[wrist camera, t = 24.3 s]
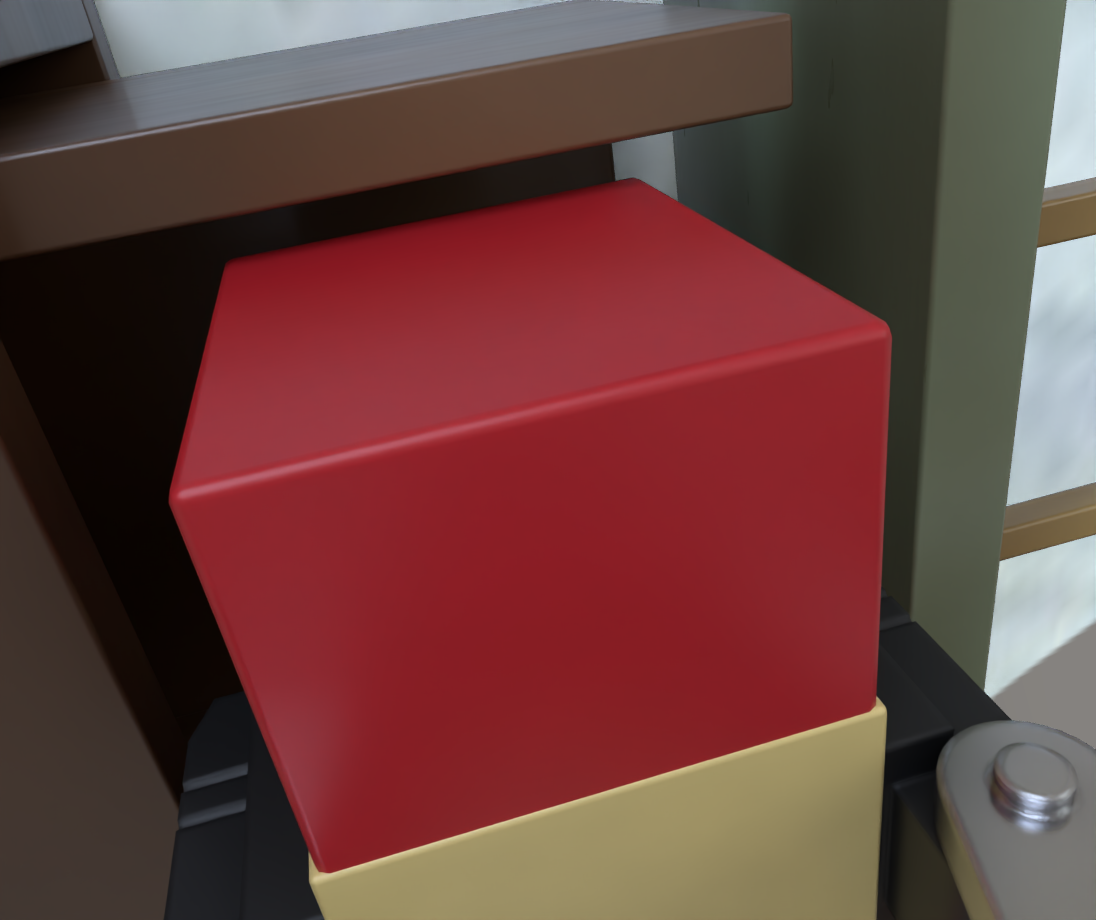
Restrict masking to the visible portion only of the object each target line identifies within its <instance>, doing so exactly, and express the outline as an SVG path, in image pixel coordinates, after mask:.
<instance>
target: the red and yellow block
mask: <svg viewBox="0 0 1096 920" xmlns="http://www.w3.org/2000/svg"><path fill="white" fill-rule="evenodd" d="M891 350H892V335H891V332H890V329H889V326H888V325H887V323H886V322H885V321H883V320H882V319H880V318H878V317H877V316H875V315H873V314H871V313H870V312H868V311H866V310H864V309H863V308H861V307H859V306H858V305H856V304H854V303H852V302H851V301H849V300H847V299H845V298H844V297H842V296H840V295H839V294H837V293H835V292H833V291H832V290H830V289H828V288H826V287H825V286H823V285H821V284H820V283H818V282H816V281H814V280H813V279H811V278H809V277H807V276H806V275H804V274H802V273H801V272H799V271H797V270H795V269H794V268H792V267H790V266H788V265H787V264H785V263H783V262H782V261H780V260H778V259H776V258H775V257H773V256H771V255H769V254H768V253H766V252H764V251H763V250H761V249H759V248H757V247H756V246H754V245H752V244H750V243H749V242H747V241H745V240H743V239H742V238H740V237H738V236H737V235H735V234H733V233H731V232H730V231H728V230H726V229H724V228H723V227H721V226H719V225H718V224H716V223H714V222H712V221H711V220H709V219H707V218H705V217H704V216H702V215H700V214H699V213H697V212H695V211H693V210H692V209H690V208H688V207H686V206H685V205H683V204H681V203H680V202H678V201H676V200H674V199H673V198H671V197H669V196H667V195H666V194H664V193H662V192H661V191H659V190H657V189H655V188H654V187H652V186H650V185H648V184H647V183H645V182H643V181H642V180H640V179H636V178H629V179H624V180H619V181H614V182H609V183H604V184H599V185H594V186H589V187H584V188H579V189H574V190H569V191H565V192H560V193H555V194H550V195H545V196H540V197H535V198H530V199H525V200H520V201H515V202H510V203H505V204H500V205H495V206H490V207H485V208H481V209H476V210H471V211H466V212H461V213H456V214H451V215H446V216H441V217H436V218H431V219H426V220H421V221H416V222H411V223H406V224H402V225H397V226H392V227H387V228H382V229H377V230H372V231H367V232H362V233H357V234H352V235H347V236H342V237H337V238H332V239H327V240H322V241H318V242H313V243H308V244H303V245H298V246H293V247H288V248H283V249H278V250H273V251H268V252H263V253H258V254H253V255H248V256H243V257H238V258H234V259H231V260H230V261H228V262H227V263H225V267H224V271H223V275H222V279H221V283H220V287H219V291H218V295H217V300H216V304H215V308H214V312H213V316H212V320H211V324H210V328H209V332H208V336H207V340H206V344H205V348H204V353H203V357H202V361H201V365H200V369H199V373H198V377H197V381H196V385H195V389H194V393H193V397H192V401H191V406H190V410H189V414H188V418H187V422H186V426H185V430H184V434H183V438H182V442H181V446H180V450H179V454H178V459H177V463H176V467H175V471H174V475H173V479H172V483H171V487H170V493H169V505H170V508H171V510H172V513H173V515H174V518H175V520H176V523H177V525H178V528H179V530H180V533H181V535H182V537H183V540H184V542H185V545H186V547H187V550H188V552H189V555H190V557H191V560H192V562H193V565H194V567H195V570H196V572H197V575H198V577H199V580H200V582H201V585H202V587H203V590H204V592H205V595H206V597H207V600H208V602H209V605H210V607H211V609H212V612H213V614H214V617H215V619H216V622H217V624H218V627H219V629H220V632H221V634H222V637H223V639H224V642H225V644H226V647H227V649H228V652H229V654H230V657H231V659H232V662H233V664H234V667H235V669H236V672H237V674H238V677H239V679H240V681H241V684H242V686H243V689H244V691H245V694H246V696H247V699H248V701H249V704H250V706H251V709H252V711H253V714H254V716H255V719H256V721H257V724H258V726H259V729H260V731H261V734H262V736H263V739H264V741H265V744H266V746H267V749H268V751H269V753H270V756H271V758H272V761H273V763H274V766H275V768H276V771H277V773H278V776H279V778H280V781H281V783H282V786H283V788H284V791H285V793H286V796H287V798H288V801H289V803H290V806H291V808H292V811H293V813H294V816H295V818H296V821H297V823H298V825H299V828H300V830H301V833H302V835H303V838H304V840H305V843H306V845H307V848H308V854H309V883H310V886H311V888H312V890H313V893H314V895H315V898H316V900H317V903H318V905H319V907H320V910H321V912H322V915H323V917H324V919H325V920H876V918H877V899H878V880H879V861H880V841H881V822H882V803H883V783H884V764H885V745H886V726H887V710H886V707H885V705H884V704H883V703H882V702H881V701H880V699H879V698H878V697H877V696H876V694H877V671H878V648H879V625H880V602H881V579H882V556H883V533H884V510H885V488H886V465H887V442H888V419H889V396H890V373H891Z"/></svg>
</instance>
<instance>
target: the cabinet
mask: <svg viewBox="0 0 1096 920" xmlns="http://www.w3.org/2000/svg"><path fill="white" fill-rule="evenodd" d="M118 78H120V76H119V73H118V70H117V67H116V65H115V62H114V59H113V56H112V53H111V50H110V47H109V44H108V41H107V38H106V35H105V32H104V29H103V27H102V24H101V21H100V18H99V15H98V12H97V9H96V6H95V3H94V0H0V99H1V98H7V97H13V96H19V95H25V94H31V93H36V92H42V91H48V90H54V89H60V88H65V87H71V86H77V85H83V84H89V83H95V82H100V81H106V80H112V79H118ZM187 748H188V745H187V743H186V741H185V739H184V737H183V734H182V732H181V730H180V728H179V726H178V724H177V721H176V719H175V717H174V715H173V713H172V711H171V708H170V706H169V704H168V702H167V700H166V697H165V695H164V693H163V691H162V689H161V687H160V684H159V682H158V680H157V678H156V676H155V674H154V671H153V669H152V667H151V665H150V663H149V661H148V658H147V656H146V654H145V652H144V650H143V647H142V645H141V643H140V641H139V639H138V637H137V634H136V632H135V630H134V628H133V626H132V624H131V621H130V619H129V617H128V615H127V613H126V611H125V608H124V606H123V604H122V602H121V600H120V597H119V595H118V593H117V591H116V589H115V587H114V584H113V582H112V580H111V578H110V576H109V574H108V571H107V569H106V567H105V565H104V563H103V561H102V558H101V556H100V554H99V552H98V550H97V548H96V545H95V543H94V541H93V539H92V537H91V534H90V532H89V530H88V528H87V526H86V524H85V521H84V519H83V517H82V515H81V513H80V511H79V508H78V506H77V504H76V502H75V500H74V498H73V495H72V493H71V491H70V489H69V487H68V484H67V482H66V480H65V478H64V476H63V474H62V471H61V469H60V467H59V465H58V463H57V461H56V458H55V456H54V454H53V452H52V450H51V448H50V445H49V443H48V441H47V439H46V437H45V434H44V432H43V430H42V428H41V426H40V424H39V421H38V419H37V417H36V415H35V413H34V411H33V408H32V406H31V404H30V402H29V400H28V398H27V395H26V393H25V391H24V389H23V387H22V385H21V382H20V380H19V378H18V376H17V374H16V371H15V369H14V367H13V365H12V363H11V361H10V358H9V356H8V354H7V352H6V350H5V348H4V345H3V343H2V341H1V339H0V920H164V914H165V907H166V900H167V892H168V885H169V878H170V871H171V863H172V856H173V849H174V842H175V834H176V831H177V830H179V825H178V822H177V820H178V813H179V806H180V798H181V793H184V788H183V785H182V784H183V777H184V769H185V762H186V755H187Z"/></svg>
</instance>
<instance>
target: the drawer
mask: <svg viewBox="0 0 1096 920" xmlns="http://www.w3.org/2000/svg"><path fill="white" fill-rule="evenodd" d="M1066 1H1067V0H663V3H664V5H662V4H647V3H633V2H618V1H604V0H572V1H566V2H560V3H554V4H548V5H543V6H537V7H531V8H525V9H519V10H514V11H508V12H502V13H496V14H490V15H484V16H479V17H473V18H467V19H461V20H455V21H449V22H444V23H438V24H432V25H426V26H420V27H415V28H409V29H403V30H397V31H391V32H385V33H380V34H374V35H368V36H362V37H356V38H351V39H345V40H339V41H333V42H327V43H321V44H316V45H310V46H304V47H298V48H292V49H287V50H281V51H275V52H269V53H263V54H257V55H252V56H246V57H240V58H234V59H228V60H223V61H217V62H211V63H205V64H199V65H193V66H188V67H182V68H176V69H170V70H164V71H159V72H153V73H147V74H141V75H135V76H129V77H124V78H118V79H112V80H106V81H100V82H95V83H89V84H83V85H77V86H71V87H65V88H60V89H54V90H48V91H42V92H36V93H31V94H25V95H19V96H13V97H7V98H1V99H0V339H1V341H2V343H3V345H4V348H5V350H6V352H7V354H8V356H9V358H10V361H11V363H12V365H13V367H14V369H15V371H16V374H17V376H18V378H19V380H20V382H21V385H22V387H23V389H24V391H25V393H26V395H27V398H28V400H29V402H30V404H31V406H32V408H33V411H34V413H35V415H36V417H37V419H38V421H39V424H40V426H41V428H42V430H43V432H44V434H45V437H46V439H47V441H48V443H49V445H50V448H51V450H52V452H53V454H54V456H55V458H56V461H57V463H58V465H59V467H60V469H61V471H62V474H63V476H64V478H65V480H66V482H67V484H68V487H69V489H70V491H71V493H72V495H73V498H74V500H75V502H76V504H77V506H78V508H79V511H80V513H81V515H82V517H83V519H84V521H85V524H86V526H87V528H88V530H89V532H90V534H91V537H92V539H93V541H94V543H95V545H96V548H97V550H98V552H99V554H100V556H101V558H102V561H103V563H104V565H105V567H106V569H107V571H108V574H109V576H110V578H111V580H112V582H113V584H114V587H115V589H116V591H117V593H118V595H119V597H120V600H121V602H122V604H123V606H124V608H125V611H126V613H127V615H128V617H129V619H130V621H131V624H132V626H133V628H134V630H135V632H136V634H137V637H138V639H139V641H140V643H141V645H142V647H143V650H144V652H145V654H146V656H147V658H148V661H149V663H150V665H151V667H152V669H153V671H154V674H155V676H156V678H157V680H158V682H159V684H160V687H161V689H162V691H163V693H164V695H165V697H166V700H167V702H168V704H169V706H170V708H171V711H172V713H173V715H174V717H175V719H176V721H177V724H178V726H179V728H180V730H181V732H182V734H183V737H184V739H185V741H186V743H187V745H188V741H189V739H190V738H191V736H192V734H193V733H194V731H195V730H196V728H197V726H198V725H199V723H200V721H201V720H202V718H203V717H204V715H205V713H206V712H207V710H208V708H209V707H210V705H211V704H212V702H213V700H214V699H215V698H219V697H223V696H227V695H230V694H234V693H238V692H242V691H244V689H243V686H242V684H241V681H240V679H239V677H238V674H237V672H236V669H235V667H234V664H233V662H232V659H231V657H230V654H229V652H228V649H227V647H226V644H225V642H224V639H223V637H222V634H221V632H220V629H219V627H218V624H217V622H216V619H215V617H214V614H213V612H212V609H211V607H210V605H209V602H208V600H207V597H206V595H205V592H204V590H203V587H202V585H201V582H200V580H199V577H198V575H197V572H196V570H195V567H194V565H193V562H192V560H191V557H190V555H189V552H188V550H187V547H186V545H185V542H184V540H183V537H182V535H181V533H180V530H179V528H178V525H177V523H176V520H175V518H174V515H173V513H172V510H171V508H170V505H169V493H170V487H171V483H172V479H173V475H174V471H175V467H176V463H177V459H178V454H179V450H180V446H181V442H182V438H183V434H184V430H185V426H186V422H187V418H188V414H189V410H190V406H191V401H192V397H193V393H194V389H195V385H196V381H197V377H198V373H199V369H200V365H201V361H202V357H203V353H204V348H205V344H206V340H207V336H208V332H209V328H210V324H211V320H212V316H213V312H214V308H215V304H216V300H217V295H218V291H219V287H220V283H221V279H222V275H223V271H224V267H225V263H227V262H228V261H230V260H231V259H234V258H238V257H243V256H248V255H253V254H258V253H263V252H268V251H273V250H278V249H283V248H288V247H293V246H298V245H303V244H308V243H313V242H318V241H322V240H327V239H332V238H337V237H342V236H347V235H352V234H357V233H362V232H367V231H372V230H377V229H382V228H387V227H392V226H397V225H402V224H406V223H411V222H416V221H421V220H426V219H431V218H436V217H441V216H446V215H451V214H456V213H461V212H466V211H471V210H476V209H481V208H485V207H490V206H495V205H500V204H505V203H510V202H515V201H520V200H525V199H530V198H535V197H540V196H545V195H550V194H555V193H560V192H565V191H569V190H574V189H579V188H584V187H589V186H594V185H599V184H604V183H609V182H614V181H616V180H615V170H614V161H613V151H612V143H614V142H620V141H625V140H630V139H635V138H640V137H645V136H650V135H655V134H661V133H666V132H671V131H673V143H674V156H675V170H676V184H677V198H678V202H680V203H681V204H683V205H685V206H686V207H688V208H690V209H692V210H693V211H695V212H697V213H699V214H700V215H702V216H704V217H705V218H707V219H709V220H711V221H712V222H714V223H716V224H718V225H719V226H721V227H723V228H724V229H726V230H728V231H730V232H731V233H733V234H735V235H737V236H738V237H740V238H742V239H743V240H745V241H747V242H749V243H750V244H752V245H754V246H756V247H757V248H759V249H761V250H763V251H764V252H766V253H768V254H769V255H771V256H773V257H775V258H776V259H778V260H780V261H782V262H783V263H785V264H787V265H788V266H790V267H792V268H794V269H795V270H797V271H799V272H801V273H802V274H804V275H806V276H807V277H809V278H811V279H813V280H814V281H816V282H818V283H820V284H821V285H823V286H825V287H826V288H828V289H830V290H832V291H833V292H835V293H837V294H839V295H840V296H842V297H844V298H845V299H847V300H849V301H851V302H852V303H854V304H856V305H858V306H859V307H861V308H863V309H864V310H866V311H868V312H870V313H871V314H873V315H875V316H877V317H878V318H880V319H882V320H883V321H885V322H886V323H887V325H888V326H889V329H890V332H891V335H892V350H891V373H890V396H889V419H888V442H887V465H886V488H885V510H884V533H883V556H882V579H881V586H882V587H883V588H884V589H885V590H886V594H887V596H888V597H889V596H892V597H893V598H894V599H895V600H896V601H897V602H898V603H899V604H900V605H901V606H902V607H903V608H904V609H905V610H906V611H907V612H908V614H909V615H910V619H911V621H912V622H914V621H916V622H917V623H918V624H919V625H920V626H921V627H922V628H923V629H924V630H925V631H926V632H927V633H928V634H929V635H930V636H931V637H932V638H933V639H934V640H935V641H936V642H937V644H938V645H939V646H940V647H941V648H942V649H943V650H944V651H945V652H946V653H947V654H948V655H949V656H950V657H951V658H952V659H953V660H954V661H955V662H956V663H957V664H958V665H959V666H960V667H961V668H962V669H963V670H964V671H965V672H966V673H967V675H968V676H969V677H970V678H971V679H972V680H973V681H974V682H975V683H976V684H977V685H978V686H979V687H980V688H981V689H982V690H983V691H984V687H985V678H986V670H987V662H988V653H989V645H990V636H991V628H992V620H993V611H994V603H995V595H996V586H997V578H998V570H999V561H1002V560H1005V559H1009V558H1012V557H1016V556H1020V555H1023V554H1027V553H1030V552H1034V551H1038V550H1041V549H1045V548H1048V547H1052V546H1056V545H1059V544H1063V543H1066V542H1070V541H1074V540H1077V539H1081V538H1084V537H1088V536H1092V535H1095V534H1096V482H1095V483H1091V484H1087V485H1084V486H1080V487H1076V488H1073V489H1069V490H1065V491H1061V492H1058V493H1054V494H1050V495H1046V496H1043V497H1039V498H1035V499H1032V500H1028V501H1024V502H1020V503H1017V504H1013V505H1009V506H1006V503H1007V494H1008V486H1009V478H1010V469H1011V461H1012V452H1013V444H1014V436H1015V427H1016V419H1017V411H1018V402H1019V394H1020V386H1021V377H1022V369H1023V360H1024V352H1025V344H1026V335H1027V327H1028V319H1029V310H1030V302H1031V294H1032V285H1033V277H1034V268H1035V260H1036V252H1037V248H1038V247H1043V246H1047V245H1052V244H1056V243H1060V242H1065V241H1069V240H1074V239H1078V238H1083V237H1087V236H1091V235H1096V177H1095V178H1090V179H1086V180H1081V181H1076V182H1072V183H1067V184H1063V185H1058V186H1053V187H1049V188H1044V185H1045V176H1046V168H1047V160H1048V151H1049V143H1050V135H1051V126H1052V118H1053V110H1054V101H1055V93H1056V84H1057V76H1058V68H1059V59H1060V51H1061V43H1062V34H1063V26H1064V18H1065V9H1066Z"/></svg>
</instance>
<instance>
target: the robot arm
mask: <svg viewBox="0 0 1096 920" xmlns="http://www.w3.org/2000/svg"><path fill="white" fill-rule="evenodd" d="M876 696H877V697H878V698H879V699H880V701H881V702H882V703H883V704H884V705H885V707H886V710H887V726H886V745H885V764H884V783H883V803H882V822H881V841H880V861H879V880H878V899H877V918H876V920H1096V749H1094V748H1093V747H1092V746H1090V745H1088V744H1087V743H1085V742H1083V741H1082V740H1080V739H1078V738H1076V737H1074V736H1072V735H1069V734H1067V733H1065V732H1063V731H1060V730H1057V729H1054V728H1051V727H1048V726H1045V725H1040V724H1035V723H1031V722H1024V721H1014V720H1011V719H1010V718H1009V717H1008V716H1007V715H1006V714H1005V713H1004V712H1003V711H1002V710H1001V709H1000V708H999V707H998V706H997V705H996V703H994V701H993V700H992V699H991V698H990V697H989V696H988V695H987V694H986V693H985V692H984V691H983V690H982V689H981V688H980V687H979V686H978V685H977V684H976V683H975V682H974V681H973V680H972V679H971V678H970V677H969V676H968V675H967V673H966V672H965V671H964V670H963V669H962V668H961V667H960V666H959V665H958V664H957V663H956V662H955V661H954V660H953V659H952V658H951V657H950V656H949V655H948V654H947V653H946V652H945V651H944V650H943V649H942V648H941V647H940V646H939V645H938V644H937V642H936V641H935V640H934V639H933V638H932V637H931V636H930V635H929V634H928V633H927V632H926V631H925V630H924V629H923V628H922V627H921V626H920V625H919V624H918V623H917V622H916V621H914V622H912V621H911V619H910V615H909V614H908V612H907V611H906V610H905V609H904V608H903V607H902V606H901V605H900V604H899V603H898V602H897V601H896V600H895V599H894V598H893V597H892V596H889V597H888V596H887V594H886V590H885V589H884V588H883V587H882V586H881V602H880V625H879V648H878V671H877V694H876ZM182 785H183V788H184V793H181V798H180V806H179V813H178V820H177V822H178V825H179V830H177V831H176V834H175V842H174V849H173V856H172V863H171V871H170V878H169V885H168V892H167V900H166V907H165V914H164V920H325V919H324V917H323V915H322V912H321V910H320V907H319V905H318V903H317V900H316V898H315V895H314V893H313V890H312V888H311V886H310V883H309V854H308V848H307V845H306V843H305V840H304V838H303V835H302V833H301V830H300V828H299V825H298V823H297V821H296V818H295V816H294V813H293V811H292V808H291V806H290V803H289V801H288V798H287V796H286V793H285V791H284V788H283V786H282V783H281V781H280V778H279V776H278V773H277V771H276V768H275V766H274V763H273V761H272V758H271V756H270V753H269V751H268V749H267V746H266V744H265V741H264V739H263V736H262V734H261V731H260V729H259V726H258V724H257V721H256V719H255V716H254V714H253V711H252V709H251V706H250V704H249V701H248V699H247V696H246V694H245V691H242V692H238V693H234V694H230V695H227V696H223V697H219V698H215V699H214V700H213V702H212V704H211V705H210V707H209V708H208V710H207V712H206V713H205V715H204V717H203V718H202V720H201V721H200V723H199V725H198V726H197V728H196V730H195V731H194V733H193V734H192V736H191V738H190V739H189V741H188V748H187V755H186V762H185V769H184V777H183V784H182Z"/></svg>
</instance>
